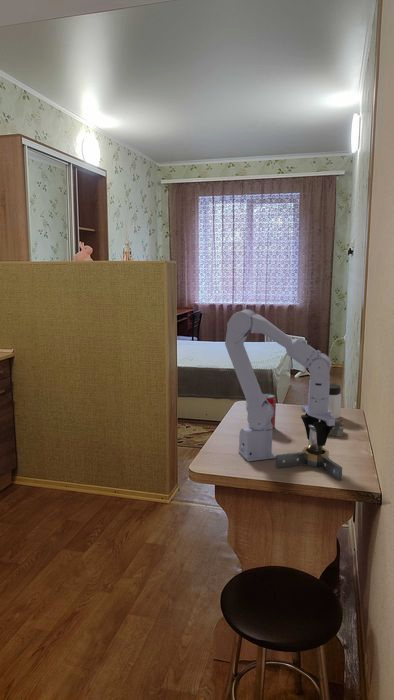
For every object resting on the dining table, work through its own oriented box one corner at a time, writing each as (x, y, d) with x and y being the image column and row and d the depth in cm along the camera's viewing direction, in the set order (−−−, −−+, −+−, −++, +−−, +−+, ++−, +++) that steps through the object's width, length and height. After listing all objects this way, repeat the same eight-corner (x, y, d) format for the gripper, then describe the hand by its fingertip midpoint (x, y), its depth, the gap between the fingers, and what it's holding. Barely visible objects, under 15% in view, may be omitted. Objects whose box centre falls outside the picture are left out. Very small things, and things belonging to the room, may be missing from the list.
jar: (343, 419, 187) (345, 388, 185) (323, 420, 185) (325, 389, 183) (331, 412, 196) (333, 382, 194) (312, 413, 194) (314, 383, 192)
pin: (312, 453, 142) (314, 429, 141) (303, 446, 147) (305, 423, 145) (327, 451, 144) (329, 427, 142) (317, 444, 149) (320, 421, 147)
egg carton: (342, 431, 175) (343, 419, 174) (343, 438, 168) (344, 426, 167) (311, 428, 177) (312, 416, 177) (310, 434, 170) (311, 423, 170)
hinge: (298, 486, 130) (299, 473, 130) (270, 462, 145) (271, 451, 145) (351, 478, 135) (352, 466, 135) (318, 456, 150) (319, 445, 150)
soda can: (276, 431, 172) (277, 397, 170) (257, 431, 173) (259, 397, 171) (273, 425, 179) (275, 393, 177) (256, 425, 179) (257, 392, 177)
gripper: (345, 402, 137) (342, 449, 139) (317, 389, 150) (314, 432, 153) (323, 404, 135) (320, 452, 137) (296, 391, 148) (294, 435, 150)
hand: (316, 442), depth 145 cm, fingers closed on pin, 5 cm apart
